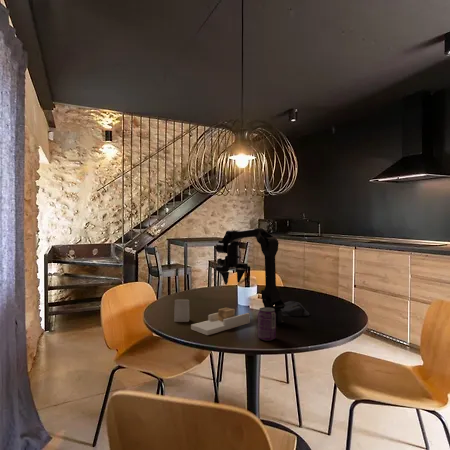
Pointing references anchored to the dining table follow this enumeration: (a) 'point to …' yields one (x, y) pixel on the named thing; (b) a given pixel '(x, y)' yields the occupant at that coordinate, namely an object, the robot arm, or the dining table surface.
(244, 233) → the robot arm
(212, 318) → the trap channel
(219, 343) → the dining table surface
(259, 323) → the beverage can
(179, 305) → the grey box
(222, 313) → the oak block
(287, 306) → the dark slate chunk
